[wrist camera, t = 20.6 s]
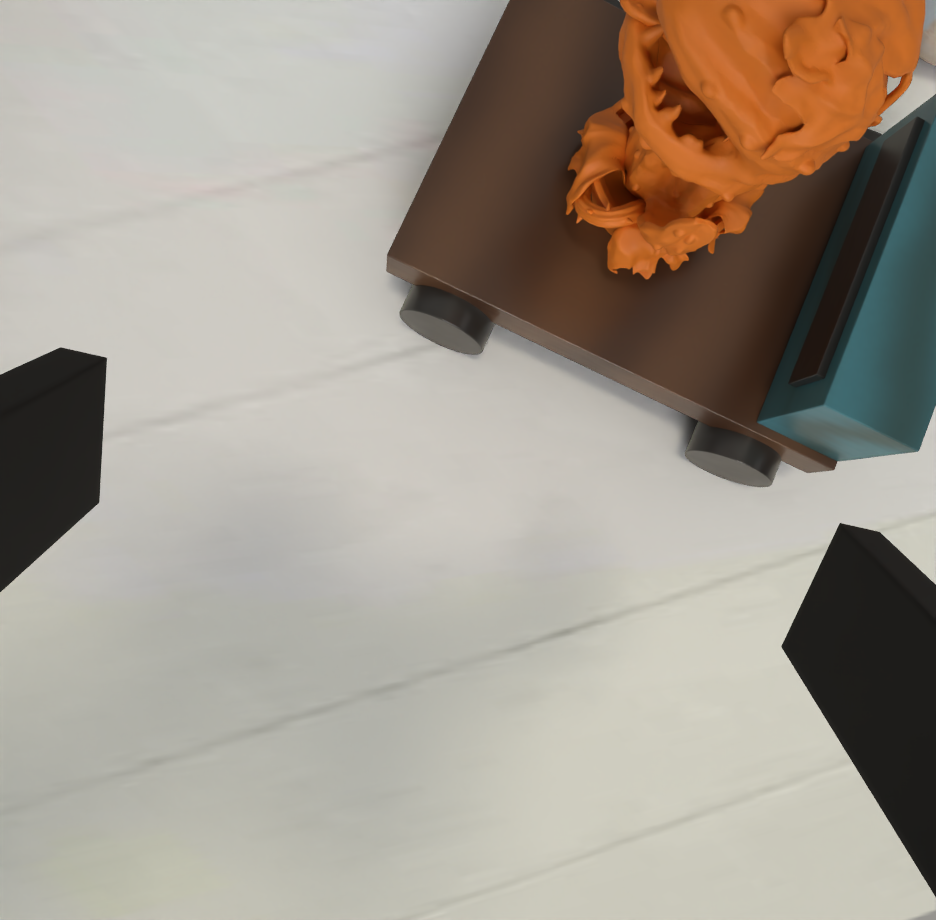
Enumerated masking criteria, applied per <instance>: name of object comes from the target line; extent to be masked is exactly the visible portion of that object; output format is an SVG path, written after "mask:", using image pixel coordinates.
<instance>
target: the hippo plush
mask: <svg viewBox="0 0 936 920" xmlns="http://www.w3.org/2000/svg"><path fill="white" fill-rule="evenodd" d="M919 57H920V58H921V59H922V60H924V61H925V62H927V63H930V64H932V65H934V66H936V0H925V20H924V25H923V34H922V41H921V47H920V55H919Z"/></svg>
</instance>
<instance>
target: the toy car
mask: <svg viewBox="0 0 936 920" xmlns="http://www.w3.org/2000/svg"><path fill="white" fill-rule="evenodd" d="M625 15H626V12H625V11H624V10H623V8H622V7H621V5H620V2H619V1H618V0H510V1H509V3H508V5H507V7H506V9H505V11H504V13H503V15H502V17H501V19H500V21H499V23H498V25H497V28H496V30H495V32H494V34H493V36H492V38H491V40H490V42H489V44H488V46H487V48H486V50H485V52H484V55H483V57H482V59H481V61H480V63H479V65H478V67H477V69H476V71H475V73H474V75H473V77H472V80H471V82H470V84H469V86H468V88H467V90H466V92H465V94H464V96H463V98H462V100H461V102H460V104H459V107H458V109H457V111H456V113H455V115H454V117H453V119H452V121H451V123H450V125H449V127H448V129H447V131H446V134H445V136H444V138H443V140H442V142H441V144H440V146H439V148H438V150H437V152H436V154H435V156H434V158H433V161H432V163H431V165H430V167H429V169H428V171H427V173H426V175H425V177H424V179H423V181H422V183H421V186H420V188H419V190H418V192H417V194H416V196H415V198H414V200H413V202H412V204H411V206H410V208H409V210H408V213H407V215H406V217H405V219H404V221H403V223H402V225H401V227H400V229H399V231H398V233H397V235H396V237H395V240H394V242H393V244H392V246H391V248H390V250H389V252H388V254H387V269H386V271H387V272H388V273H391V274H393V275H395V276H397V277H399V278H401V279H403V280H405V281H407V282H409V283H411V284H413V285H412V287H411V289H410V291H409V294H408V296H407V298H406V300H405V302H404V304H403V306H402V308H401V310H400V317H401V319H402V320H403V321H404V322H405V323H406V324H407V325H408V326H409V327H410V328H412V329H413V330H414V331H416V332H417V333H419V334H420V335H422V336H424V337H425V338H427V339H429V340H431V341H433V342H435V343H437V344H439V345H441V346H444V347H446V348H449V349H451V350H454V351H458V352H461V353H465V354H480V353H481V352H482V351H483V349H484V346H485V344H486V342H487V340H488V338H489V335H490V333H491V331H492V329H493V327H494V324H497V325H499V326H501V327H503V328H505V329H508V330H510V331H512V332H514V333H516V334H518V335H520V336H522V337H524V338H526V339H528V340H531V341H533V342H535V343H537V344H539V345H541V346H543V347H545V348H547V349H549V350H551V351H554V352H556V353H558V354H560V355H562V356H564V357H566V358H568V359H570V360H572V361H574V362H576V363H579V364H581V365H583V366H585V367H587V368H589V369H591V370H593V371H595V372H597V373H599V374H602V375H604V376H606V377H608V378H610V379H612V380H614V381H616V382H618V383H620V384H622V385H625V386H627V387H629V388H631V389H633V390H635V391H637V392H639V393H641V394H643V395H645V396H648V397H650V398H652V399H654V400H656V401H658V402H660V403H662V404H664V405H666V406H668V407H670V408H673V409H675V410H677V411H679V412H681V413H683V414H685V415H687V416H689V417H691V418H693V419H696V420H698V423H697V425H696V427H695V430H694V432H693V435H692V437H691V439H690V442H689V444H688V447H687V449H686V452H685V456H686V457H687V459H688V460H689V461H691V462H692V463H693V464H695V465H696V466H698V467H700V468H702V469H703V470H705V471H707V472H710V473H712V474H714V475H716V476H719V477H721V478H724V479H727V480H730V481H733V482H737V483H740V484H744V485H749V486H755V487H768V486H771V485H772V483H773V480H774V477H775V475H776V472H777V470H778V467H779V465H780V462H781V461H783V462H785V463H787V464H790V465H792V466H794V467H796V468H798V469H800V470H802V471H804V472H806V473H812V472H822V471H831V470H834V469H835V467H836V464H837V461H846V460H854V459H862V458H870V457H878V456H886V455H894V454H902V453H910V452H918V451H919V449H920V447H921V444H922V441H923V438H924V436H925V433H926V430H927V428H928V425H929V422H930V419H931V417H932V414H933V411H934V408H935V406H936V94H935V95H934V96H933V97H931V98H930V99H929V100H928V101H926V102H925V103H924V104H922V105H921V106H920V107H918V108H917V109H916V110H914V111H913V112H912V113H910V114H909V115H908V116H906V117H905V118H904V119H902V120H901V121H900V122H898V123H897V124H896V125H894V126H893V127H892V128H890V129H889V130H888V131H886V132H885V133H884V134H883V135H882V134H880V133H878V132H876V131H873V130H870V129H867V130H866V132H865V133H864V135H863V136H862V137H861V138H860V139H859V140H857V141H849V143H850V146H849V149H848V150H846V151H844V152H837V153H836V154H834V155H833V156H832V157H831V158H830V159H829V160H828V161H826V162H824V163H823V164H822V165H821V167H820V168H819V169H818V170H815V171H814V173H813V174H811V175H807V176H806V175H803V174H799V175H798V176H797V177H796V178H794V179H792V180H790V181H787V182H784V183H778V184H773V185H769V184H768V185H767V187H766V188H765V189H764V193H763V194H762V196H761V197H760V198H759V199H758V200H757V201H756V202H754V203H753V205H752V206H751V209H750V210H751V211H752V215H751V217H750V219H749V221H748V223H747V226H746V228H745V230H744V231H743V232H742V233H740V234H733V233H726V234H720V235H719V236H718V238H716V240H715V247H714V253H713V254H712V253H710V252H709V251H708V245H709V243H708V244H706V245H704V246H703V247H701V248H699V249H697V250H696V251H694V252H688V253H686V254H687V256H688V258H689V260H688V261H683V262H682V263H681V265H680V267H679V268H678V269H677V270H675V271H673V270H671V268H670V264H667V263H666V262H665V260H664V259H663V258H662V257H661V258H659V260H658V262H657V264H656V270H655V273H652V275H651V277H650V278H649V279H645V278H644V277H643V276H642V275H641V274H640V273H638V272H637V273H635V274H634V275H633V269H632V268H630V269H627V268H619V269H616V270H617V272H618V273H617V274H616V273H613V272H612V271H610V270H609V269H608V264H607V262H608V249H607V246H608V242H609V241H610V239H611V237H612V235H610V234H609V233H608V232H607V230H606V229H605V228H602V227H597V226H595V225H592V224H590V223H588V222H587V221H585V220H584V219H582V220H581V221H580V222H579V223H576V221H577V217H578V214H577V212H576V210H575V208H573V210H572V211H571V213H570V214H569V215H566V210H567V201H566V197H567V194H568V192H569V191H570V189H571V187H572V185H573V182H574V180H575V178H576V176H577V173H576V171H575V170H574V169H572V170H569V171H568V167H569V164H570V162H571V158H572V157H573V156H574V155H575V153H576V152H578V151H579V150H580V149H581V147H582V142H581V139H582V136H581V135H580V134H579V133H578V132H577V131H579V130H582V129H584V126H585V123H586V121H587V120H588V119H589V117H591V116H592V115H593V114H595V113H597V112H600V111H603V110H605V109H607V108H610V107H612V106H613V105H614V104H616V103H617V102H618V101H619V100H621V99H622V98H624V77H623V71H622V65H621V61H620V59H619V51H618V44H619V32H620V30H621V27H622V24H623V21H624V19H625ZM591 201H592V193H591ZM724 229H725V228H724ZM724 229H723V230H724Z"/></svg>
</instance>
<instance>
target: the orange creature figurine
mask: <svg viewBox="0 0 936 920" xmlns="http://www.w3.org/2000/svg"><path fill="white" fill-rule="evenodd" d="M620 5H621V7H622V8H623V10H624V11H625V12H626V15H625V19H624V21H623V24H622V27H621V30H620V32H619V44H618V51H619V59H620V61H621V65H622V71H623V77H624V98H622V99H621V100H619V101H618V102H617V103H616V104H614V105H613V106H612V107H610V108H607V109H605V110H603V111H600V112H597V113H595V114H593V115H592V116H591V117H589V119H588V120H587V121H586V123H585V126H584V129H582V130H579V131H577V132H578V133H579V134H580V135H581V136H582V139H581V142H582V147H581V149H580V150H579V151H578V152H576V153H575V155H574V156H573V157H572V158H571V162H570V164H569V167H568V171H569V170H572V169H574V170H575V171H576V173H577V176H576V178H575V180H574V182H573V185H572V187H571V189H570V191H569V192H568V194H567V197H566V201H567V210H566V215H569V214H570V213H571V211H572V210H573V208H575V210H576V212H577V214H578V217H577V221H576V223H579V222H580V221H581V220H582V219H584V220H585V221H587V222H588V223H590V224H592V225H595V226H597V227H602V228H605V229H606V230H607V232H608V233H609V234H610V235H612V237H611V239H610V241H609V242H608V246H607V249H608V262H607V264H608V269H609V270H610V271H612V272H613V273H616V274H617V273H618V272H617V270H616V269H619V268H627V269H630V268H632V269H633V275H634V274H635V273H637V272H638V273H640V274H641V275H642V276H643V277H644V278H645V279H649V278H650V277H651V275H652V273H655V270H656V264H657V262H658V260H659V258H661V257H662V258H663V259H664V260H665V262H666V263H667V264H670V268H671V270H673V271H675V270H677V269H678V268H679V267H680V265H681V263H682V262H683V261H688V260H689V258H688V256H687V254H686V253H688V252H694V251H696V250H697V249H699V248H701V247H703V246H704V245H706V244H708V243H709V245H708V251H709V252H710V253H712V254H713V253H714V247H715V240H716V238H718V236H719V235H720V234H726V233H733V234H740V233H742V232H743V231H744V230H745V228H746V226H747V223H748V221H749V219H750V217H751V215H752V211H751V210H750V209H751V206H752V205H753V203H754V202H756V201H757V200H758V199H759V198H760V197H761V196H762V194H763V193H764V189H765V188H766V187H767V185H768V184H769V185H773V184H778V183H784V182H787V181H790V180H792V179H794V178H796V177H797V176H798V175H799V174H803V175H806V176H807V175H811V174H813V173H814V171H815V170H818V169H819V168H820V167H821V165H822V164H823V163H824V162H826V161H828V160H829V159H830V158H831V157H832V156H833V155H834V154H836V153H837V152H844V151H846V150H848V149H849V146H850V143H849V141H857V140H859V139H860V138H861V137H862V136H863V135H864V133H865V132H866V130H867V128H868V127H871V126H876V125H878V124H879V123H881V121H882V117H880V116H879V115H880V114H881V113H883V112H884V111H885V110H886V109H887V108H888V107H889V106H890V105H892V104H893V103H894V102H895V101H896V100H897V99H898V98H899V97H900V96H901V95H902V94H903V93H904V92H905V91H906V89H907V88H908V87H909V85H910V83H911V81H912V74H913V71H914V70H915V68H916V66H917V63H918V60H919V55H920V47H921V41H922V34H923V25H924V20H925V0H620ZM888 76H890V77H893V78H896V77H901V76H902V77H901V81H900V84H899V85H898V86H897V87H896V88H895V89H894V90H893V91H892V92H891V93H890V94H889V95H887V81H888ZM591 193H592V201H591ZM724 228H725V229H724ZM723 229H724V230H723Z"/></svg>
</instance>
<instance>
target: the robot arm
mask: <svg viewBox="0 0 936 920" xmlns="http://www.w3.org/2000/svg"><path fill="white" fill-rule="evenodd" d="M106 364H107V358H105V357H101V356H96V355H92V354H87V353H83V352H78V351H74V350H70V349H65V348H58V349H56V350H54V351H52V352H50V353H47V354H45V355H43V356H41V357H38V358H36V359H34V360H32V361H30V362H27V363H25V364H23V365H21V366H19V367H16V368H14V369H12V370H10V371H8V372H5V373H3V374H1V375H0V592H1V591H2V590H3V589H4V588H5V587H7V586H8V585H9V584H10V583H11V582H12V581H13V580H14V579H15V578H16V577H18V576H19V575H20V574H21V573H22V572H23V571H24V570H25V569H26V568H27V567H29V566H30V565H31V564H32V563H33V562H34V561H35V560H36V559H37V558H39V557H40V556H41V555H42V554H43V553H44V552H45V551H46V550H47V549H48V548H50V547H51V546H52V545H53V544H54V543H55V542H56V541H57V540H58V539H59V538H61V537H62V536H63V535H64V534H65V533H66V532H67V531H68V530H69V529H70V528H72V527H73V526H74V525H75V524H76V523H77V522H78V521H79V520H80V519H82V518H83V517H84V516H85V515H86V514H87V513H88V512H89V511H90V510H91V509H93V508H94V507H95V506H96V505H97V504H98V503H99V496H100V477H101V458H102V440H103V421H104V402H105V383H106ZM781 647H782V648H783V650H784V652H785V653H786V655H787V657H788V658H789V660H790V661H791V663H792V665H793V666H794V668H795V670H796V671H797V673H798V674H799V676H800V678H801V679H802V681H803V683H804V684H805V686H806V687H807V689H808V691H809V692H810V694H811V695H812V697H813V699H814V700H815V702H816V704H817V705H818V707H819V708H820V710H821V712H822V713H823V715H824V717H825V718H826V720H827V721H828V723H829V725H830V726H831V728H832V730H833V731H834V733H835V734H836V736H837V738H838V739H839V741H840V743H841V744H842V746H843V747H844V749H845V751H846V752H847V754H848V755H849V757H850V759H851V760H852V762H853V764H854V765H855V767H856V768H857V770H858V772H859V773H860V775H861V777H862V778H863V780H864V781H865V783H866V785H867V786H868V788H869V790H870V791H871V793H872V794H873V796H874V798H875V799H876V801H877V803H878V804H879V806H880V807H881V809H882V811H883V812H884V814H885V815H886V817H887V819H888V820H889V822H890V824H891V825H892V827H893V828H894V830H895V832H896V833H897V835H898V837H899V838H900V840H901V841H902V843H903V845H904V846H905V848H906V850H907V851H908V853H909V854H910V856H911V858H912V859H913V861H914V863H915V864H916V866H917V867H918V869H919V871H920V872H921V874H922V876H923V877H924V879H925V880H926V882H927V884H928V885H929V887H930V888H931V890H932V892H933V893H934V895H935V897H936V585H935V584H934V583H933V582H932V581H931V580H930V579H929V578H928V577H927V576H926V575H925V574H924V573H923V572H922V571H921V570H919V569H918V568H917V567H916V566H915V565H914V564H913V563H912V562H911V561H910V560H909V559H908V558H907V557H906V556H905V555H903V554H902V553H901V552H900V551H899V550H898V549H897V548H896V547H895V546H894V545H893V544H892V543H891V542H890V541H889V540H887V539H886V538H885V537H884V536H883V535H882V534H881V533H880V532H877V531H873V530H868V529H864V528H859V527H855V526H850V525H846V524H841V523H840V524H839V526H838V528H837V530H836V533H835V535H834V537H833V539H832V541H831V543H830V545H829V547H828V549H827V552H826V554H825V556H824V558H823V560H822V562H821V564H820V566H819V568H818V571H817V573H816V575H815V577H814V579H813V581H812V583H811V585H810V587H809V589H808V592H807V594H806V596H805V598H804V600H803V602H802V604H801V606H800V608H799V611H798V613H797V615H796V617H795V619H794V621H793V623H792V625H791V627H790V630H789V632H788V634H787V636H786V638H785V640H784V642H783V644H782V646H781Z"/></svg>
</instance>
